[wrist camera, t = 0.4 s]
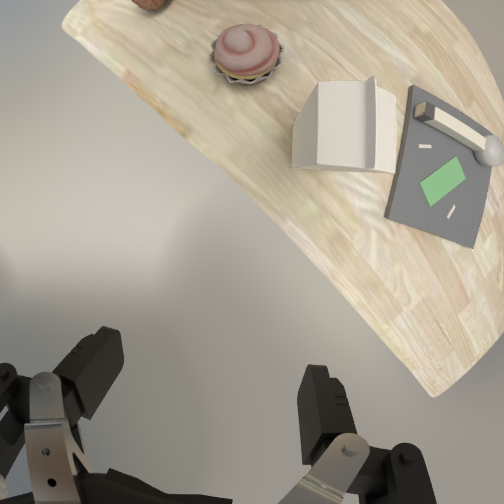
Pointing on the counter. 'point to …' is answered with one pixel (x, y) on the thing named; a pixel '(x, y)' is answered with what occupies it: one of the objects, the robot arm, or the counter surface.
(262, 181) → the counter surface
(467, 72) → the counter surface
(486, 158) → the tuning lever
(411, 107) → the board
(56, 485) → the robot arm
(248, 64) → the cupcake
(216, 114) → the counter surface
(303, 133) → the milk
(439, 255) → the counter surface
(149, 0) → the mushroom
